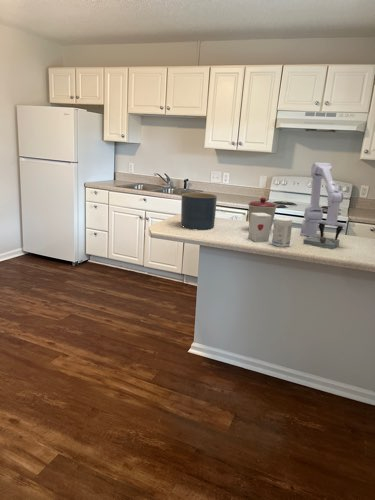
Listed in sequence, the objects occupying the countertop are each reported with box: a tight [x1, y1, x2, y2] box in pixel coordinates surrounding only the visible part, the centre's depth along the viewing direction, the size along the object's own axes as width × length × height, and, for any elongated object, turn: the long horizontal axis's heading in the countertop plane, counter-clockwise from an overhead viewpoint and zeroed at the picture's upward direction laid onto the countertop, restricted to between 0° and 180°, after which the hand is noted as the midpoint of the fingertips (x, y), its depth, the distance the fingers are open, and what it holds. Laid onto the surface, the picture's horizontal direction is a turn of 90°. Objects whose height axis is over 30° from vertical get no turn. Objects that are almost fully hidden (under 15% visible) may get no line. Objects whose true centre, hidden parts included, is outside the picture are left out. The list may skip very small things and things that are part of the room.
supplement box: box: [247, 213, 271, 242], centre depth 210 cm, size 9×9×15 cm
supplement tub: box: [271, 216, 293, 248], centre depth 201 cm, size 10×10×15 cm
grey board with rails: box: [302, 235, 341, 250], centre depth 209 cm, size 16×15×3 cm
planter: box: [180, 192, 218, 231], centre depth 236 cm, size 22×22×20 cm
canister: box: [247, 197, 278, 230], centre depth 232 cm, size 18×18×21 cm
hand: (328, 238), depth 206 cm, fingers open, 7 cm apart
